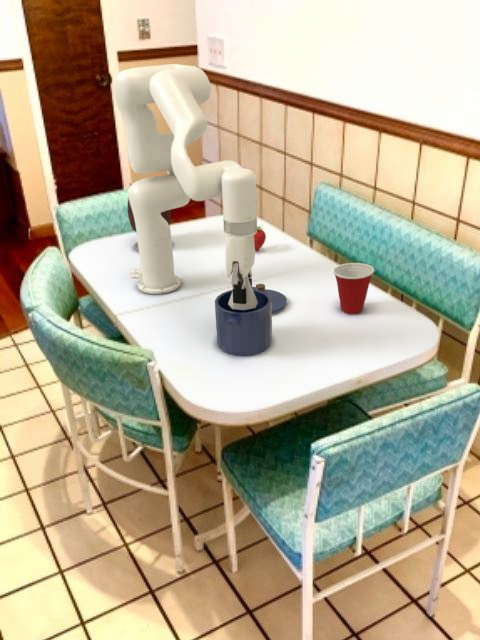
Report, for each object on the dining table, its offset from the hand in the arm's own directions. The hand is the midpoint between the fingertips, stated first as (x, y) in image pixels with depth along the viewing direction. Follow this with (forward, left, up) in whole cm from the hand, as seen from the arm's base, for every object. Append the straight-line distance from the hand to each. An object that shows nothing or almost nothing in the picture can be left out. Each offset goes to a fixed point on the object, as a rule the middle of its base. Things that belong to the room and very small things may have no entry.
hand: (242, 297), depth 153 cm
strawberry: (-11, +58, -13) cm, 60 cm away
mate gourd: (-47, +56, -13) cm, 74 cm away
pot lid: (-1, +21, -12) cm, 24 cm away
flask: (0, 0, -2) cm, 2 cm away
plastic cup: (+24, +23, -13) cm, 36 cm away
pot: (0, 0, -12) cm, 12 cm away
